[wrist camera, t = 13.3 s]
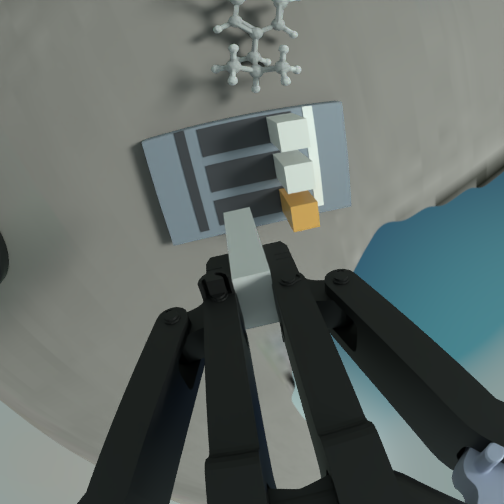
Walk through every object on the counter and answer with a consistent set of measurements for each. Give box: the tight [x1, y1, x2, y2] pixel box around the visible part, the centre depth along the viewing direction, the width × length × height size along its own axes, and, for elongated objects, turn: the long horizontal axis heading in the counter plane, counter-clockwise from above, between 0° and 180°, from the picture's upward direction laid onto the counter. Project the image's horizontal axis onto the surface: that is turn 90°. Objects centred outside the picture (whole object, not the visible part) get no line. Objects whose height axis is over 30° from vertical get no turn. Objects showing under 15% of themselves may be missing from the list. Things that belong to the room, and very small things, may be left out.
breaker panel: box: [142, 101, 351, 245], centre depth 36 cm, size 24×14×8 cm, turn 101°
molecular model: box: [211, 0, 301, 93], centre depth 26 cm, size 19×10×10 cm, turn 172°
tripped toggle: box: [279, 188, 320, 232], centre depth 37 cm, size 3×3×6 cm
